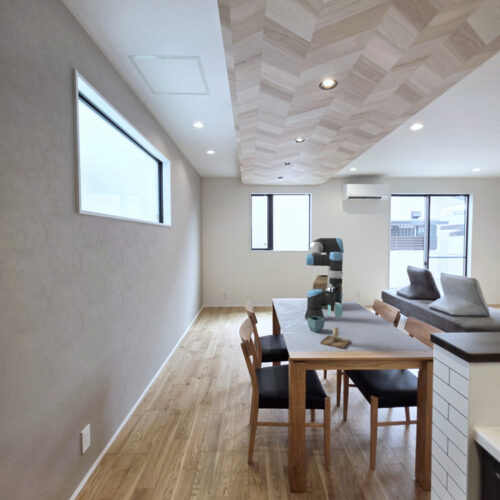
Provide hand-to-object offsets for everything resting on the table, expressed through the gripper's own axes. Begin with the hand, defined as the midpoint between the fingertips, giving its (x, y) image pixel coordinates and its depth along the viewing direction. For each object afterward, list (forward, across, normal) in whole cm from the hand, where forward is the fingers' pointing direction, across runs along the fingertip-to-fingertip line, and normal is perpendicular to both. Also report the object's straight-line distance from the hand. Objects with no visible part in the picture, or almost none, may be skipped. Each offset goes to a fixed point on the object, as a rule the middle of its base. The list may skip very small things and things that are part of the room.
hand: (335, 314), depth 164 cm
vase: (+17, +83, +34) cm, 91 cm away
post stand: (+17, 0, 0) cm, 17 cm away
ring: (0, 0, 0) cm, 0 cm away
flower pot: (+18, +14, +18) cm, 29 cm away
